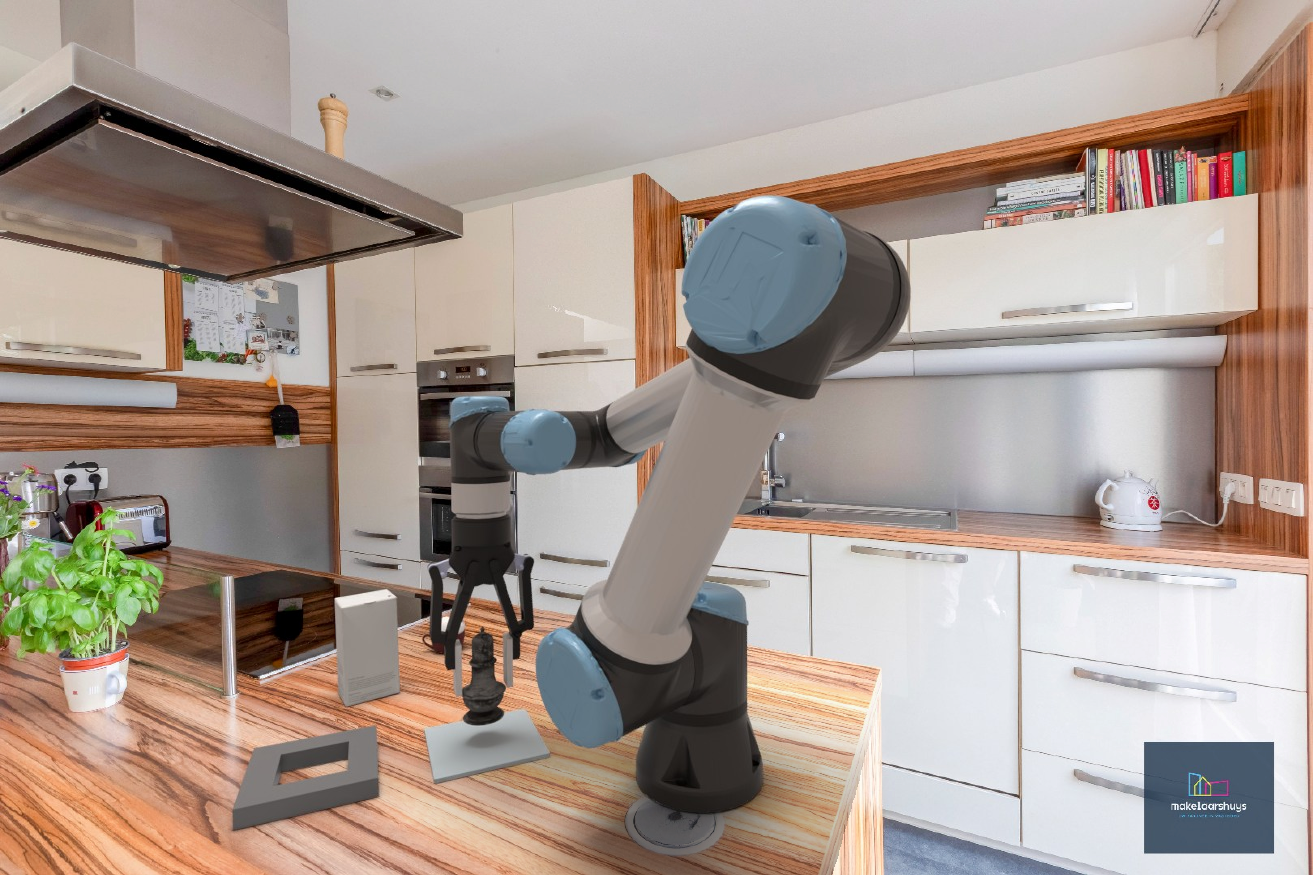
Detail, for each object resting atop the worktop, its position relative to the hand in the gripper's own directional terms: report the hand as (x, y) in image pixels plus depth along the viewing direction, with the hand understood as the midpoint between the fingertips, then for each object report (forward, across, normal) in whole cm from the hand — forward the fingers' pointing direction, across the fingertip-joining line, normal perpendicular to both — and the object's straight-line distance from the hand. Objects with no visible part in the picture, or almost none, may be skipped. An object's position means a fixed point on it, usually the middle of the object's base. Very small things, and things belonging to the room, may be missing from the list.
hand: (483, 687), depth 84 cm
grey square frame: (+8, +20, 0) cm, 21 cm away
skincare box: (+8, +14, -24) cm, 29 cm away
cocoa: (+8, 0, -39) cm, 40 cm away
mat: (+7, 0, 0) cm, 7 cm away
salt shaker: (+4, 0, 0) cm, 4 cm away
